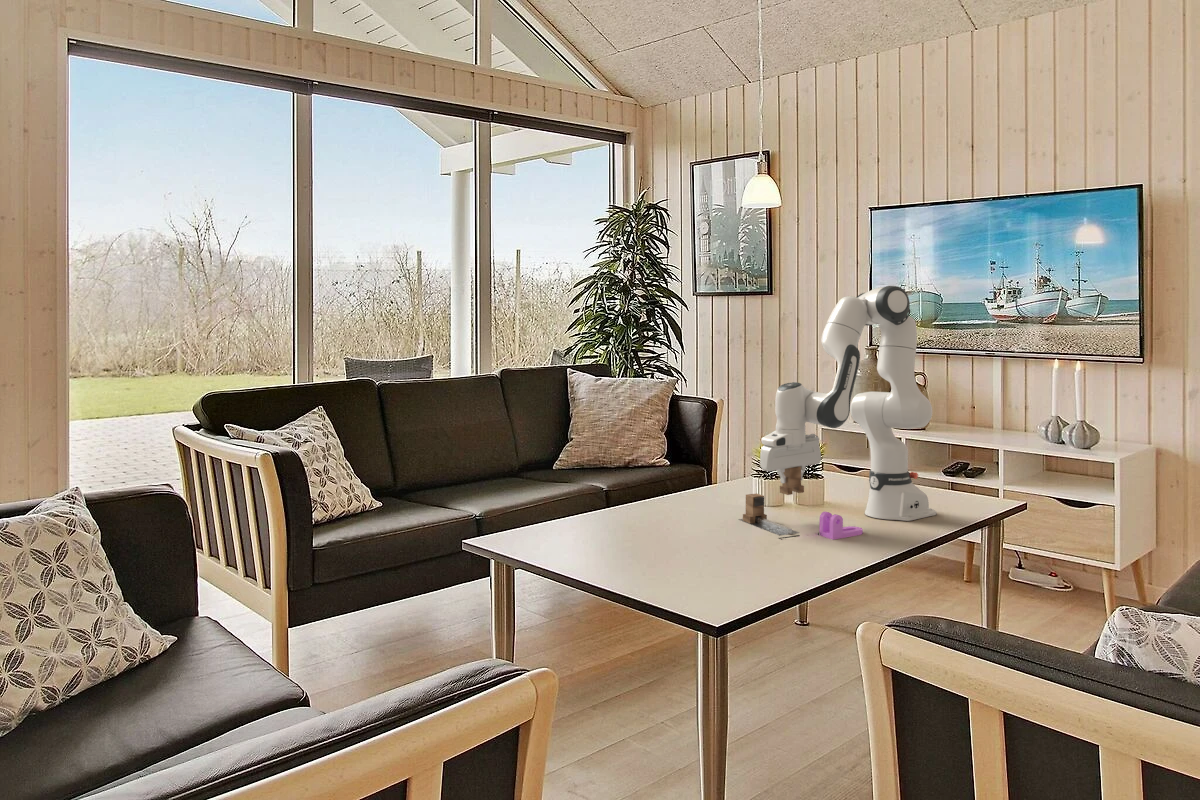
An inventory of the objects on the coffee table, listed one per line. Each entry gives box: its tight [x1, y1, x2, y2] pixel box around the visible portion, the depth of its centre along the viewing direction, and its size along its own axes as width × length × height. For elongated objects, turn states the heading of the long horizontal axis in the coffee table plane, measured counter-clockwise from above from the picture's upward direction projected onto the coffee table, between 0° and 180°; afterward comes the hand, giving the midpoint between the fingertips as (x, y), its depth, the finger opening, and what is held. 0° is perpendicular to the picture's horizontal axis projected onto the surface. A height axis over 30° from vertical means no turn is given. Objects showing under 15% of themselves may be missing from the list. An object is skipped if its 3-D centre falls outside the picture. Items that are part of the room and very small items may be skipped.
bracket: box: [818, 511, 863, 540], centre depth 258 cm, size 13×6×7 cm, turn 118°
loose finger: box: [779, 467, 805, 496], centre depth 271 cm, size 6×5×8 cm
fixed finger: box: [742, 493, 768, 524], centre depth 272 cm, size 6×5×8 cm
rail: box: [738, 516, 801, 540], centre depth 266 cm, size 7×22×2 cm, turn 23°
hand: (791, 481), depth 270 cm, fingers closed on loose finger, 4 cm apart
